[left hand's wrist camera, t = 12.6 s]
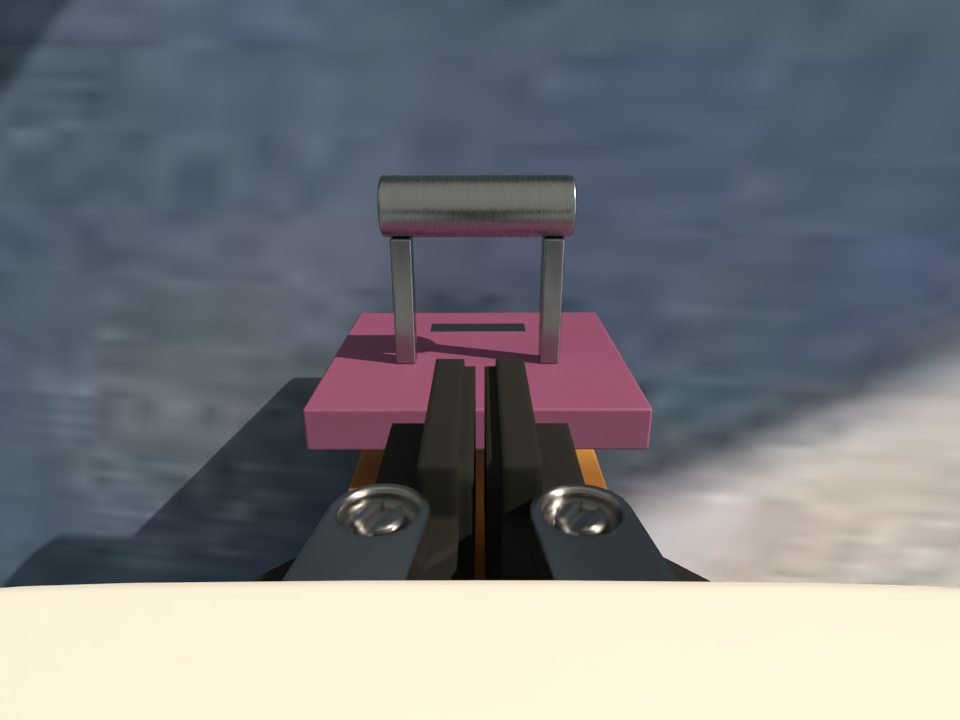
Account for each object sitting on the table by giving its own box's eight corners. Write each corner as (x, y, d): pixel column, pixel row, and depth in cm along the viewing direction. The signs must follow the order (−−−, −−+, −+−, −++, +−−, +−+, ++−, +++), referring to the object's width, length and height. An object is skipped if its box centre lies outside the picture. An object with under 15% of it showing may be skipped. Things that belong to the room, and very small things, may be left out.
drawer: (349, 162, 22) (276, 189, 14) (606, 162, 22) (677, 188, 14) (386, 670, 30) (354, 864, 23) (572, 669, 30) (604, 864, 23)
